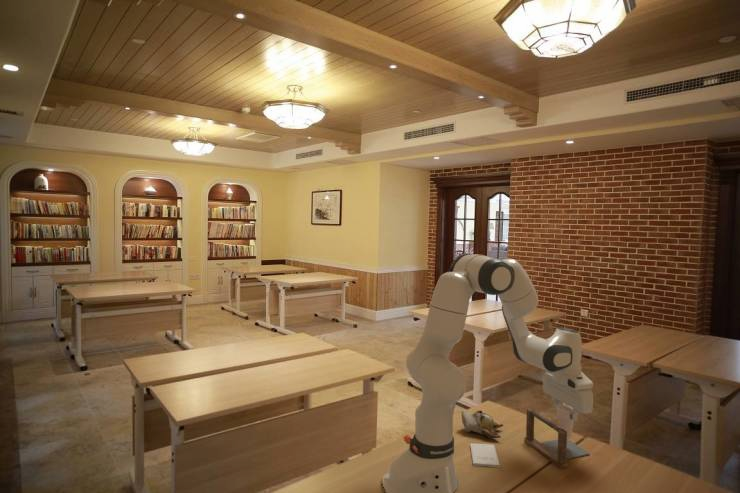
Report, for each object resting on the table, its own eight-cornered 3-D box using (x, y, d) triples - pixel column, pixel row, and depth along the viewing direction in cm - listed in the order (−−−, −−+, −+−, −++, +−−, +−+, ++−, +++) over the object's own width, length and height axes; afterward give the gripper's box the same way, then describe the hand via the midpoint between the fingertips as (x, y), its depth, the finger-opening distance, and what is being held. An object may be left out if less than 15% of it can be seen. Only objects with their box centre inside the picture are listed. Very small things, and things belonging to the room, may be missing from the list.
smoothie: (553, 435, 152) (554, 395, 151) (558, 428, 157) (559, 389, 156) (573, 441, 148) (574, 400, 147) (577, 433, 154) (578, 393, 153)
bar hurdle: (559, 468, 142) (560, 432, 141) (524, 440, 159) (525, 408, 158) (567, 466, 143) (568, 431, 142) (531, 439, 160) (532, 407, 159)
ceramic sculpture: (464, 401, 172) (504, 409, 167) (462, 422, 173) (502, 431, 168) (459, 413, 162) (502, 422, 157) (457, 435, 163) (500, 445, 158)
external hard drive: (494, 449, 155) (499, 469, 142) (470, 447, 156) (473, 467, 144) (494, 444, 155) (499, 464, 142) (470, 443, 156) (473, 462, 143)
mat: (562, 460, 146) (562, 458, 146) (540, 444, 157) (540, 442, 157) (589, 455, 150) (589, 453, 150) (566, 439, 160) (566, 437, 160)
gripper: (538, 366, 160) (537, 404, 161) (581, 387, 141) (580, 429, 142) (553, 364, 162) (552, 401, 163) (597, 385, 143) (596, 427, 144)
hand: (565, 415), depth 152 cm, fingers closed on smoothie, 6 cm apart
